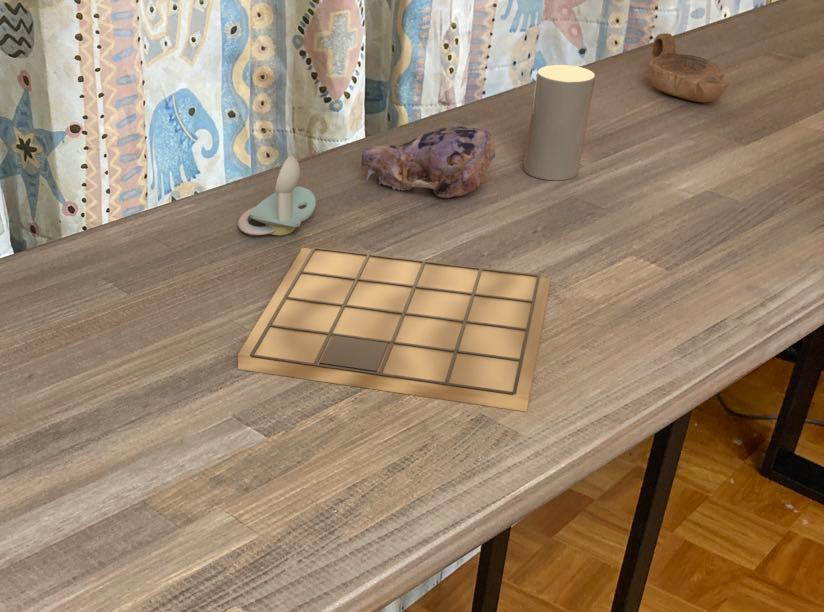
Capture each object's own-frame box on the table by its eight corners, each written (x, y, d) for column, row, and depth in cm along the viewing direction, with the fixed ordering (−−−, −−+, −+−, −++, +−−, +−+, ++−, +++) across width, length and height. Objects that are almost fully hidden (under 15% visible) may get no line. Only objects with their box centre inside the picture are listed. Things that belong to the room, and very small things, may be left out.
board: (549, 291, 88) (552, 276, 87) (526, 413, 74) (529, 395, 74) (302, 260, 92) (302, 245, 91) (237, 370, 78) (236, 353, 77)
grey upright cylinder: (579, 163, 109) (596, 67, 104) (576, 183, 105) (593, 84, 100) (525, 158, 110) (540, 62, 105) (520, 177, 106) (534, 79, 101)
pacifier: (225, 238, 96) (290, 248, 94) (221, 165, 92) (289, 174, 90) (259, 207, 101) (322, 215, 99) (257, 136, 97) (322, 144, 95)
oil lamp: (739, 109, 122) (751, 61, 119) (676, 113, 121) (687, 65, 118) (681, 73, 132) (691, 28, 129) (622, 76, 131) (631, 31, 128)
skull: (348, 184, 103) (358, 114, 100) (374, 167, 110) (384, 101, 106) (475, 211, 100) (489, 140, 97) (494, 193, 106) (508, 125, 103)
